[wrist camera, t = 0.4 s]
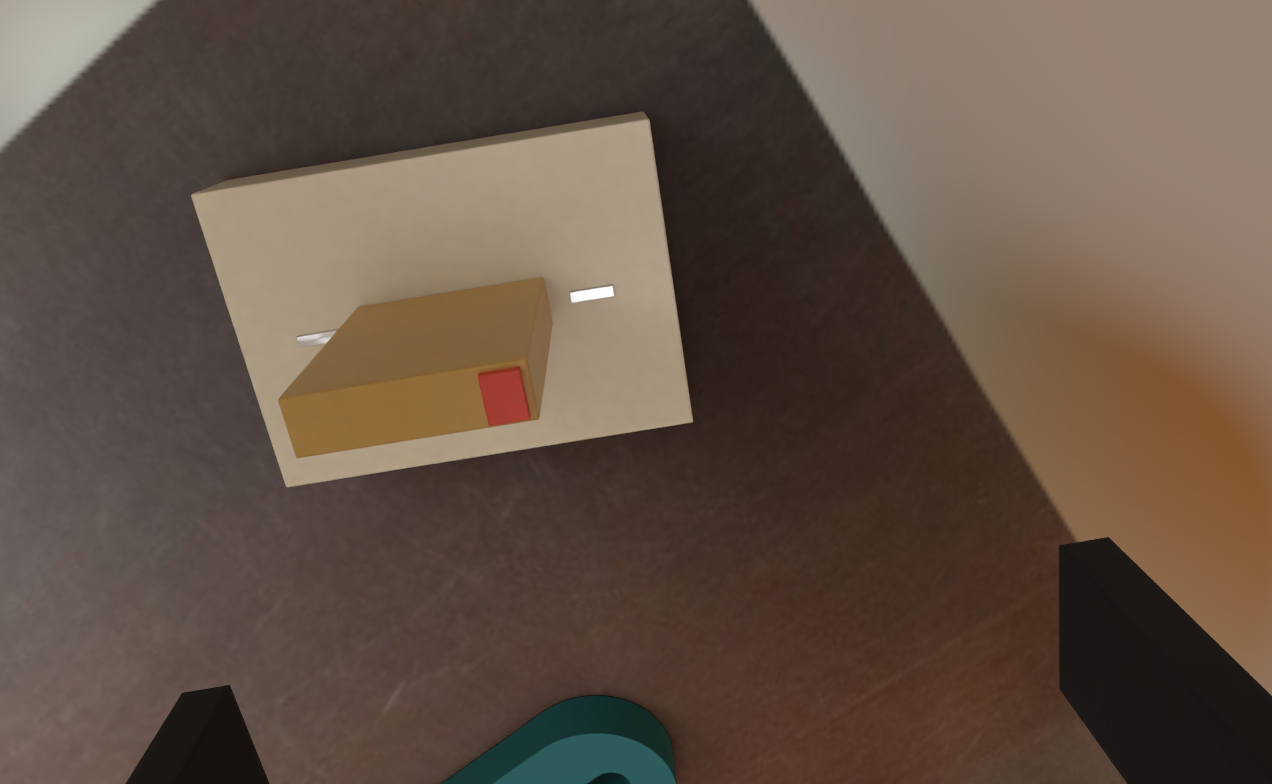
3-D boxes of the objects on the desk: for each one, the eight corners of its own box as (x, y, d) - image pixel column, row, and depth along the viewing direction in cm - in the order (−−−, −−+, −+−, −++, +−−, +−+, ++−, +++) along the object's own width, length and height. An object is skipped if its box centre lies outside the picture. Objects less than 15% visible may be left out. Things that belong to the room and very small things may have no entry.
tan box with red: (369, 354, 30) (292, 464, 22) (356, 306, 29) (273, 402, 22) (553, 324, 30) (539, 424, 22) (543, 276, 29) (526, 361, 22)
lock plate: (310, 451, 34) (284, 490, 31) (226, 180, 31) (187, 195, 28) (685, 391, 34) (693, 424, 31) (644, 111, 31) (649, 119, 28)
